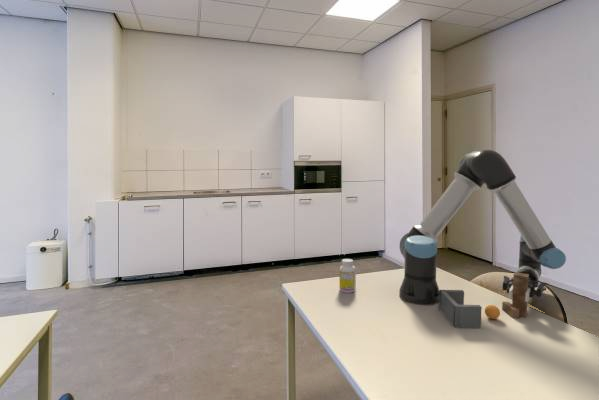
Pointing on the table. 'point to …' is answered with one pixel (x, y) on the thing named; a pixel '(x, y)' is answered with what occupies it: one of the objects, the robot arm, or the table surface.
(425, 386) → the table surface
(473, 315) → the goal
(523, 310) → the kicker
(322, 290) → the table surface
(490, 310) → the ball
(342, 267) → the supplement bottle
